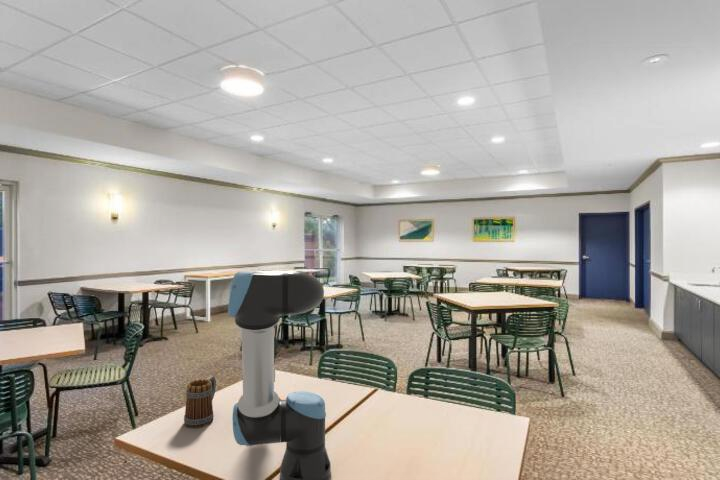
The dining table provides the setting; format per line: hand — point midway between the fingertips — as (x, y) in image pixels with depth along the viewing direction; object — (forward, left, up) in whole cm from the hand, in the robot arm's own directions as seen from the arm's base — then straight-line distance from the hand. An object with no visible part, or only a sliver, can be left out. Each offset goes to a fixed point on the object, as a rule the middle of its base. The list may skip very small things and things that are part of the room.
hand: (265, 378), depth 152 cm
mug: (+16, +20, -18) cm, 31 cm away
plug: (0, 0, -1) cm, 1 cm away
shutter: (0, -11, -14) cm, 18 cm away
